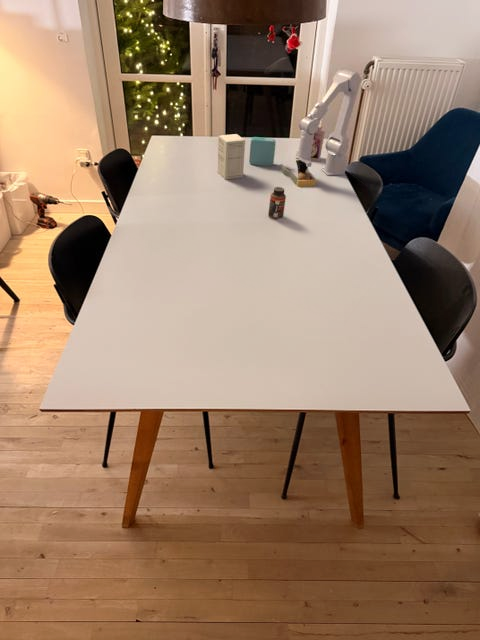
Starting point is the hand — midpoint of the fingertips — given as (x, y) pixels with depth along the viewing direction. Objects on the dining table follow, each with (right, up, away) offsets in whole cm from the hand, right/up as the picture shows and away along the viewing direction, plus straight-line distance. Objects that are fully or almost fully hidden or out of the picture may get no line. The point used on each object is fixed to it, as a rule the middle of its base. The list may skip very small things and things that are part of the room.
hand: (300, 176), depth 203 cm
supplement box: (-33, +1, -1) cm, 33 cm away
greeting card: (+8, +17, +24) cm, 31 cm away
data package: (-18, +11, +14) cm, 25 cm away
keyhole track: (-1, +1, +3) cm, 3 cm away
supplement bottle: (-14, -26, -31) cm, 43 cm away
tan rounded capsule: (+1, -3, -2) cm, 4 cm away
